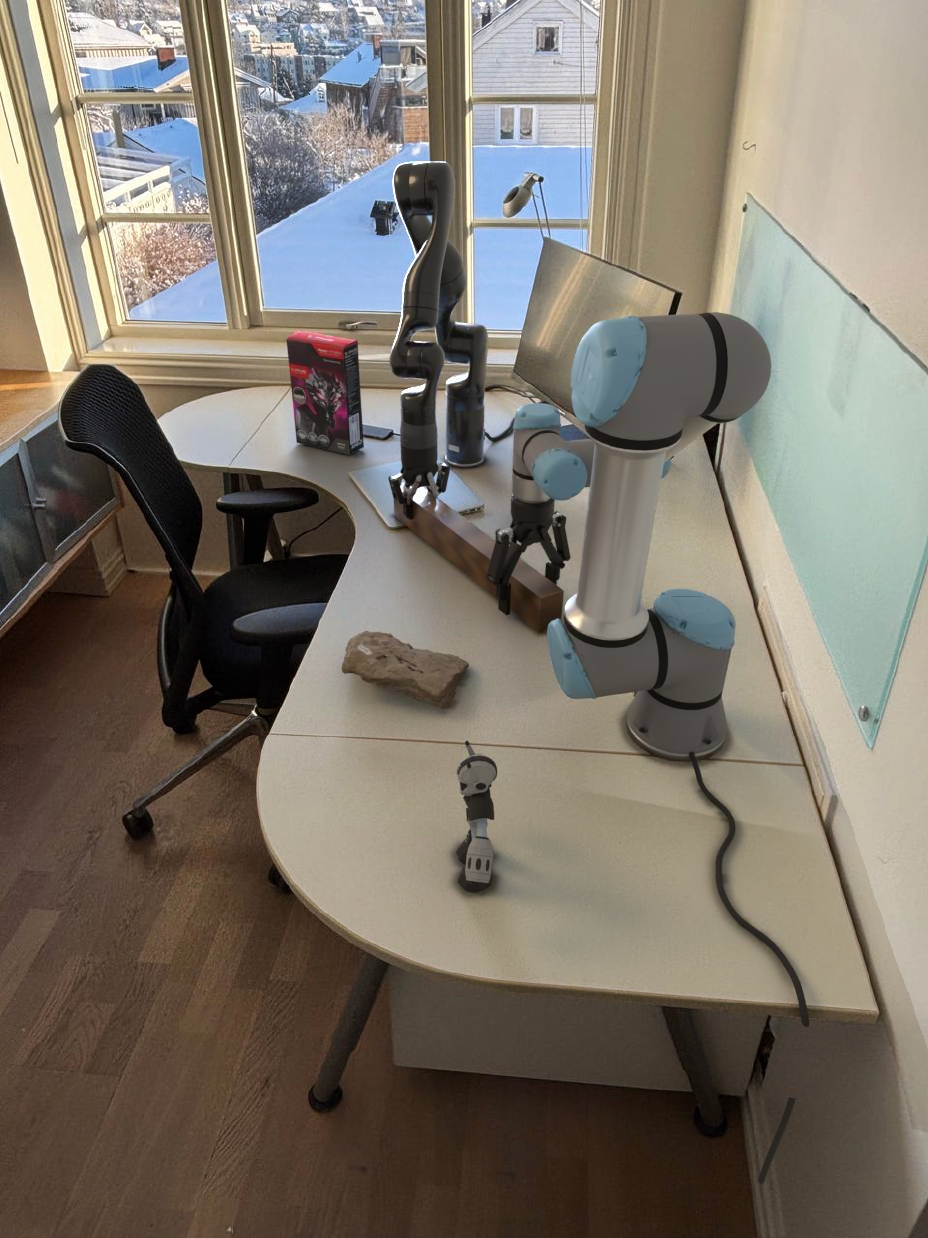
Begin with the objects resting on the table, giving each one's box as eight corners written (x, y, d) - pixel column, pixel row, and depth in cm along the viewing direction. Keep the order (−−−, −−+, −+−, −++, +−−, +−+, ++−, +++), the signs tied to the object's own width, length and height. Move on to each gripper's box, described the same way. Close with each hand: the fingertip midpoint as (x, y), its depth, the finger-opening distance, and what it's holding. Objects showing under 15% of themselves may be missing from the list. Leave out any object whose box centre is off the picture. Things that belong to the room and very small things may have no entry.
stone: (317, 681, 147) (323, 648, 145) (352, 647, 161) (358, 617, 158) (439, 725, 144) (448, 692, 141) (465, 687, 157) (473, 656, 155)
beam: (561, 625, 167) (564, 590, 163) (539, 633, 165) (541, 598, 161) (413, 510, 204) (413, 479, 200) (394, 515, 202) (393, 485, 198)
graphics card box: (294, 443, 234) (283, 336, 218) (310, 434, 239) (300, 328, 224) (350, 457, 227) (343, 347, 212) (366, 447, 232) (360, 339, 217)
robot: (499, 928, 112) (505, 811, 101) (459, 930, 112) (460, 812, 101) (488, 811, 128) (491, 699, 117) (453, 812, 128) (453, 700, 117)
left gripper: (439, 427, 193) (439, 500, 202) (378, 441, 186) (382, 516, 196) (458, 439, 188) (458, 513, 197) (397, 454, 181) (399, 530, 191)
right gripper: (570, 471, 166) (562, 578, 178) (466, 501, 155) (465, 611, 168) (597, 487, 160) (587, 595, 173) (491, 519, 150) (488, 631, 163)
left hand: (420, 514), depth 196 cm, fingers closed on beam, 5 cm apart
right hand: (527, 603), depth 170 cm, fingers open, 10 cm apart
